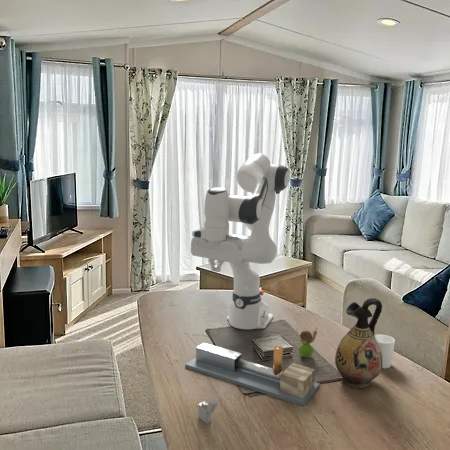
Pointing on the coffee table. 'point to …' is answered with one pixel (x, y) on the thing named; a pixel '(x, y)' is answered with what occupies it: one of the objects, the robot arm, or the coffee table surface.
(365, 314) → the ceramic jug
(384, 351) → the white cup
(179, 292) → the coffee table surface
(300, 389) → the birch socket
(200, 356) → the grey sleeve
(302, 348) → the snail figurine
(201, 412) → the lighter
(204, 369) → the slate board
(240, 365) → the bolt with orange handle
